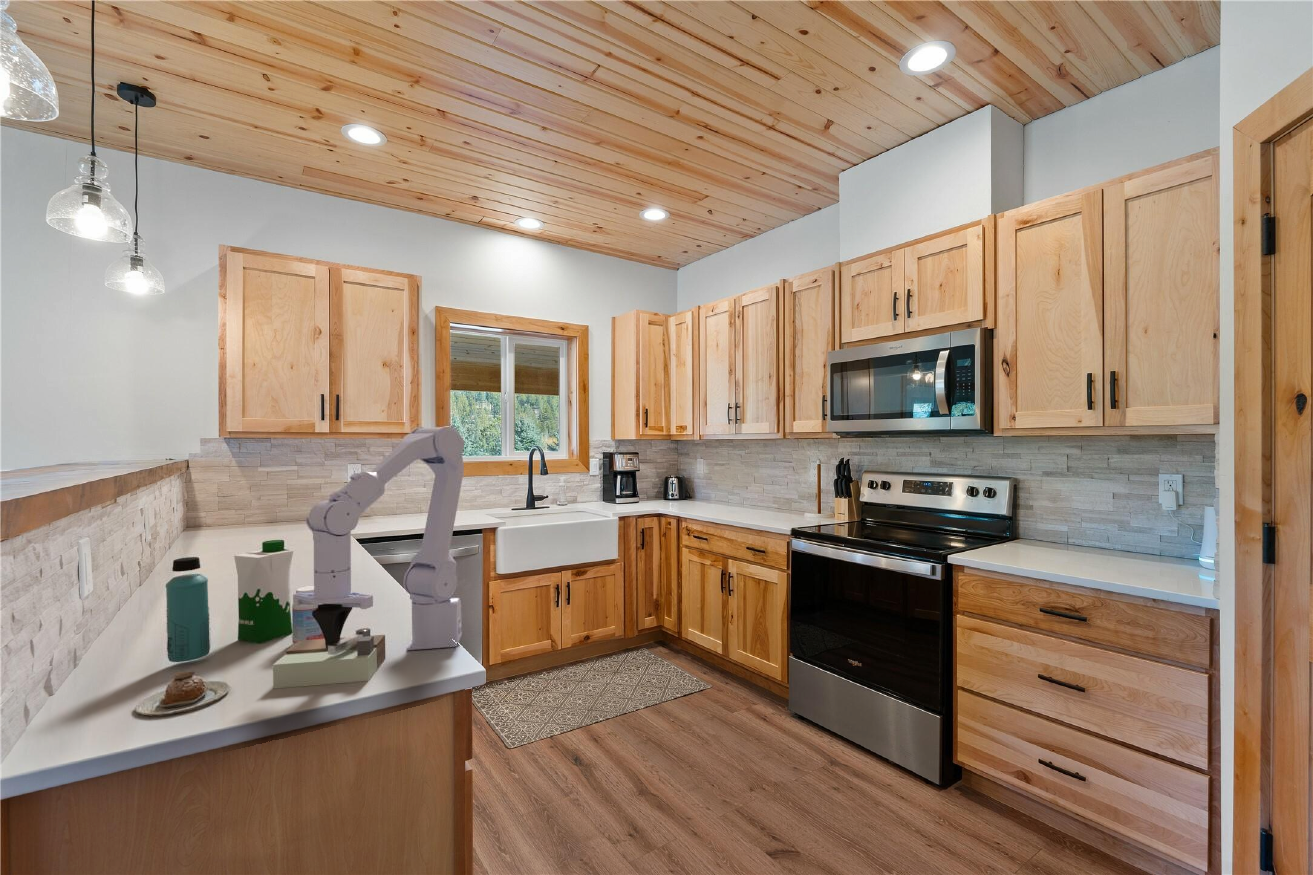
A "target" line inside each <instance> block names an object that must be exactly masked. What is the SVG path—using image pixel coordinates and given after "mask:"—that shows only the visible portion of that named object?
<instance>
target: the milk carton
mask: <svg viewBox="0 0 1313 875" xmlns="http://www.w3.org/2000/svg"><path fill="white" fill-rule="evenodd" d="M293 554H294V550H290V549H285V540H284V539H273V540H266V541H265V540H264V541H263V542H262V543H261V549H260V550H255V551H247V552H245V553H240V554H235V555H233V558H234V562H235V568H236V573H237V600H238V601H237V602H238V604H237V605H238V607H237V610H238V611H237V612H238V621H237V623H238V624H237V640H238V641H241V642H246V643H254V644H259V645H260V644H264V643H267V642H270V641H273V640H276V639H279V638H282V637H284V636H287V635H291V634H292V612H291V611H292V610H291V571H290V570H291V565H292V559H293Z"/></svg>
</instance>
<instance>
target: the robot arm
mask: <svg viewBox="0 0 1313 875" xmlns="http://www.w3.org/2000/svg"><path fill="white" fill-rule="evenodd" d="M464 446H465V440H464V439H463V437H462V435H461V434H460V432H459V430H457V429H456V428H455V427H453V426H449V425H447V426H440V427H439V426H438V427H437V426H436V427H423V426H419V427H416V428H414V429H413V430H412V431H410V433H408V434H406V435H404V436H403V439H402V441H401V442H400V443H399V444H398V445H397V446H396V447H395V448H394V449H393V450H392V451H390V452H389V454H388V455H387V456H386V457H385V458H383V460H381V461H380V462H379V463H378V465H376V466H375V467H374V468H373V469H372V470H371V471H363V470H362V471H360V472H356V473H355V472H354V473H352V474H351V475H350V476H349V479H350V480H349V481H348V482H347V483H345V484H344V485H343V486H342V487H341V488H339V490H337V491H333V492H331V493H330V494H329V498H328V500H322V501H319V502H317V503H316V504H314V505H313V506H312V508H311V509H310V512H309V513H308V516H307V517H306V518H305V522H306V526H307V527H308V529H309V530H310V531H311V532H312V541H313V586H314V592H299V593H296V592H295V593H293V595H292V605H301V604H302V605H318V608H317V610H314V611H312V616H313V617H314V618H315V620H316V621H317V623H318V624H319V626H320V628H321V630H322V633H323V636H324V639H325V645H326V649H328V645H332V644H334V643H336V642H338V641H340V638H341V635H342V631H343V628H344V626H345V623H346V621H347V619H348V618H349V615H350V613H351V612H352V611H353V608H357V609H358V608H360V610H367V609H369V608H372V607H373V606H374V595H372V594H366V593H359V592H355V591H352V552H351V550H352V547H351V546H352V541H351V540H352V531H353V530H355V529H356V528H357V525H358V523H359V518H360V517H361V515H363V513H365V511H367V510H368V509H369V508H370V507H371V506H373V504H374V503H376V502H377V500H378V499H380V498H381V496H382V497H383V495H384V494H385V485H386V484H387V483H388V482H389V481H391V480H392V479H393V478H395V477H396V476H397V475H398V474H400V473H402V471H403V470H405V469H406V468H407V467H408V466H410V465H411V464H412V463H415V461H419V460H420V461H422V462H423V463H424V464H426V466H428V467H429V468H430V470H431V471H432V472H433V473H434V480H433V485H432V490H431V496H430V501H429V506H428V511H427V517H426V523H425V526H424V527H425V528H424V532H423V533H424V534H423V537H422V543H421V547H420V548H421V549H420V550H419V551H418V552H417V553H416V554H415V555H413V557H412V558H411V560H410V565H409V567H408V569H407V570H406V572H405V573H404V577H403V580H402V581H403V588H404V590H405V591H406V593H408V594H409V600H411V636H412V637H411V640H410V642H409V643H408V644H407V646H406V651H414V650H428V649H440V648H441V649H443V648H455V647H457V646H458V644H459V642H460V640H461V638H462V635H463V631H462V630H463V627H462V601H461V598H460V597H452V596H453V595H454V593H455V591H456V589H457V587H458V586H457V585H458V576H457V564H458V563H457V561H456V560H455V559H454V558H453V556H452V555H451V554H450V549H451V543H452V540H453V532H454V526H455V523H456V516H457V512H458V511H457V510H458V505H459V499H460V495H461V494H460V493H461V489H462V482H463V478H464V473H465V472H464V471H465V466H464V458H463V451H464ZM452 639H453V640H455V642H457V643H458V644H456V643H455V642H454V641H453V640H452Z"/></svg>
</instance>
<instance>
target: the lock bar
mask: <svg viewBox="0 0 1313 875" xmlns="http://www.w3.org/2000/svg"><path fill="white" fill-rule="evenodd" d="M364 636H371V628H369V627H367V628H366V627H365V628H360V629H357V630H355V633H354V634H351V635H349V636H347V637H346V636H345V637H346V638H344V637H343V638H344V639H342V640H340V641H338V642H336V643H334V644H332V645H328V654H329V655H336V654H339V653H341V652H343V651H345V650H347V649H349V648H351V647H354V646H356V645H357V641H358V640H359V639H360V638H361V637H364Z"/></svg>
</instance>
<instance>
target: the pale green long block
mask: <svg viewBox="0 0 1313 875" xmlns="http://www.w3.org/2000/svg"><path fill="white" fill-rule="evenodd" d="M377 670H378V669H377V648H374V636H373V635H370V636H364V637H361V638H360V639H359V640H358V641H357V649H349V650H345V651H343V652H341V653H339V654H336V655H329V654H328V651H322V652H308V653H294V654H286V653H285V654H284V655H283V656H282V657H280V659H278V660H277V661H275V662H274V663H273V664H272V683H273V684H272V688H273V689H282V688H283V689H284V688H286V689H287V688H297V687H307V686H319V685H320V686H322V685H333V684H343V683H345V684H346V683H356V682H368V681H370V680H371V679H372V677H373V675H374V674H375V673H376V672H377Z"/></svg>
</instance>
